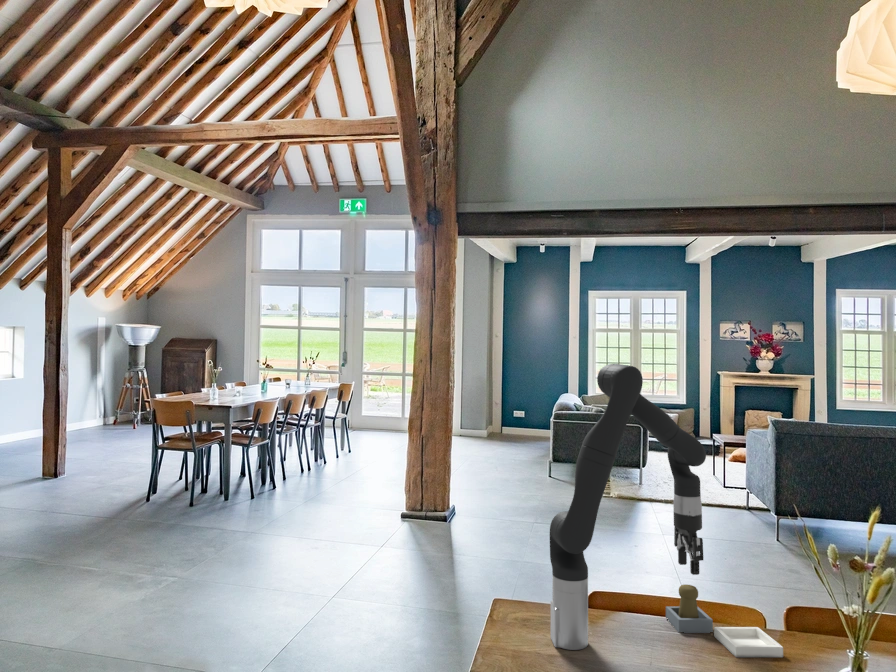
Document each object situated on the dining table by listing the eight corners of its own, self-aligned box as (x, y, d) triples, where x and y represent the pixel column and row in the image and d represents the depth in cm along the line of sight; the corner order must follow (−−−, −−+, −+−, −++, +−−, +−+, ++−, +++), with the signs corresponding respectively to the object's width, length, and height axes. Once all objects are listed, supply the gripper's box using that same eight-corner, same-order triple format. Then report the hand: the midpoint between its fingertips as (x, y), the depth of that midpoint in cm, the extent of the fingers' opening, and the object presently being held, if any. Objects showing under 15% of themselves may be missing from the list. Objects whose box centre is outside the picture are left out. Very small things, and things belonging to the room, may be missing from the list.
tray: (736, 657, 154) (735, 646, 154) (714, 636, 166) (714, 626, 166) (783, 657, 154) (783, 647, 154) (758, 636, 166) (757, 627, 166)
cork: (702, 631, 169) (701, 590, 170) (679, 629, 170) (678, 588, 171) (697, 622, 175) (697, 583, 176) (675, 620, 176) (675, 581, 177)
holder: (678, 632, 168) (678, 619, 168) (665, 618, 177) (665, 606, 177) (712, 632, 168) (712, 619, 168) (698, 618, 177) (697, 606, 178)
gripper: (665, 505, 181) (666, 561, 180) (684, 517, 167) (685, 577, 166) (690, 505, 181) (691, 561, 181) (711, 517, 167) (713, 577, 166)
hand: (688, 569), depth 173 cm, fingers open, 8 cm apart
